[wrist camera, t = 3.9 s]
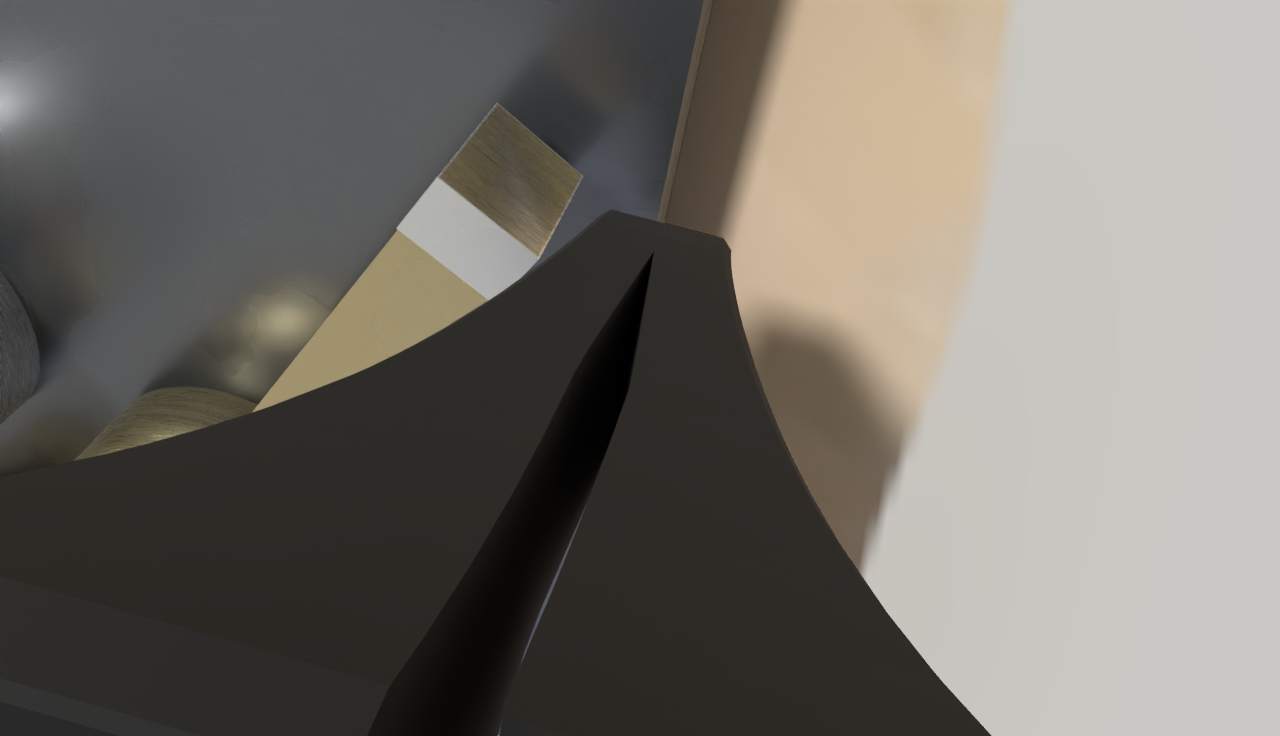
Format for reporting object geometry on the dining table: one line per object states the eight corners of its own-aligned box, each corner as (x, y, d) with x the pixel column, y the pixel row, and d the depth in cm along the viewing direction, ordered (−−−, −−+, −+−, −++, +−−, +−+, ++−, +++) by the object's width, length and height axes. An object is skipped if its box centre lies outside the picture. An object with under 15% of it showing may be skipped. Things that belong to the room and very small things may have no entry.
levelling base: (562, 687, 21) (462, 1024, 16) (-113, 498, 22) (-416, 765, 17) (772, -274, 10) (662, -169, 5) (-639, -600, 11) (-2064, -818, 5)
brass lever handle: (293, 607, 18) (213, 741, 16) (80, 475, 17) (-37, 600, 15) (692, 243, 12) (650, 385, 10) (395, -13, 10) (268, 82, 8)
